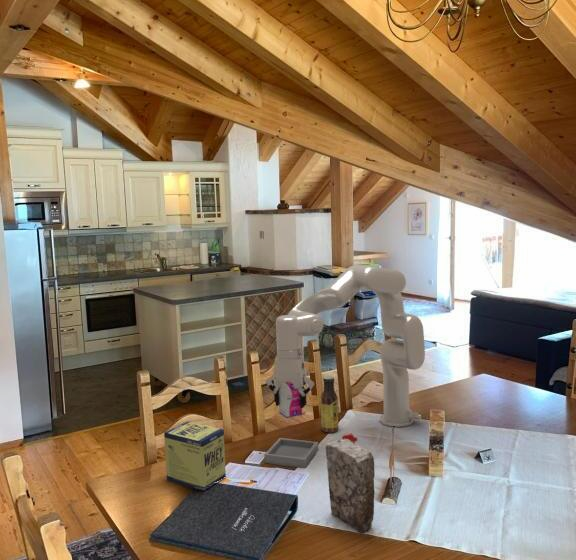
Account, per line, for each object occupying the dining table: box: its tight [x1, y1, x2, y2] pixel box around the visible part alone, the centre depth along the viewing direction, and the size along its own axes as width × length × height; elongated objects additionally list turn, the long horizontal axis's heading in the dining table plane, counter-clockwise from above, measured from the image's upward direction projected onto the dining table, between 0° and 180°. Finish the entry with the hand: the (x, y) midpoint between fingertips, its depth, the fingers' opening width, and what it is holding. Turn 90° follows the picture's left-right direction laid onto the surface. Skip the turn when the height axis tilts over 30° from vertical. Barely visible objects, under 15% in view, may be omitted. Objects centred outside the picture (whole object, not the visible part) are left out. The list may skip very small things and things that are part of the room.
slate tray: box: [263, 437, 319, 469], centre depth 183 cm, size 14×14×3 cm
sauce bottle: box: [320, 375, 339, 433], centre depth 203 cm, size 6×6×20 cm
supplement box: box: [278, 383, 303, 419], centre depth 181 cm, size 6×6×12 cm
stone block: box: [325, 439, 376, 534], centre depth 142 cm, size 13×7×20 cm, turn 39°
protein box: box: [163, 421, 227, 489], centre depth 169 cm, size 10×16×16 cm
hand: (290, 405), depth 181 cm, fingers closed on supplement box, 8 cm apart
